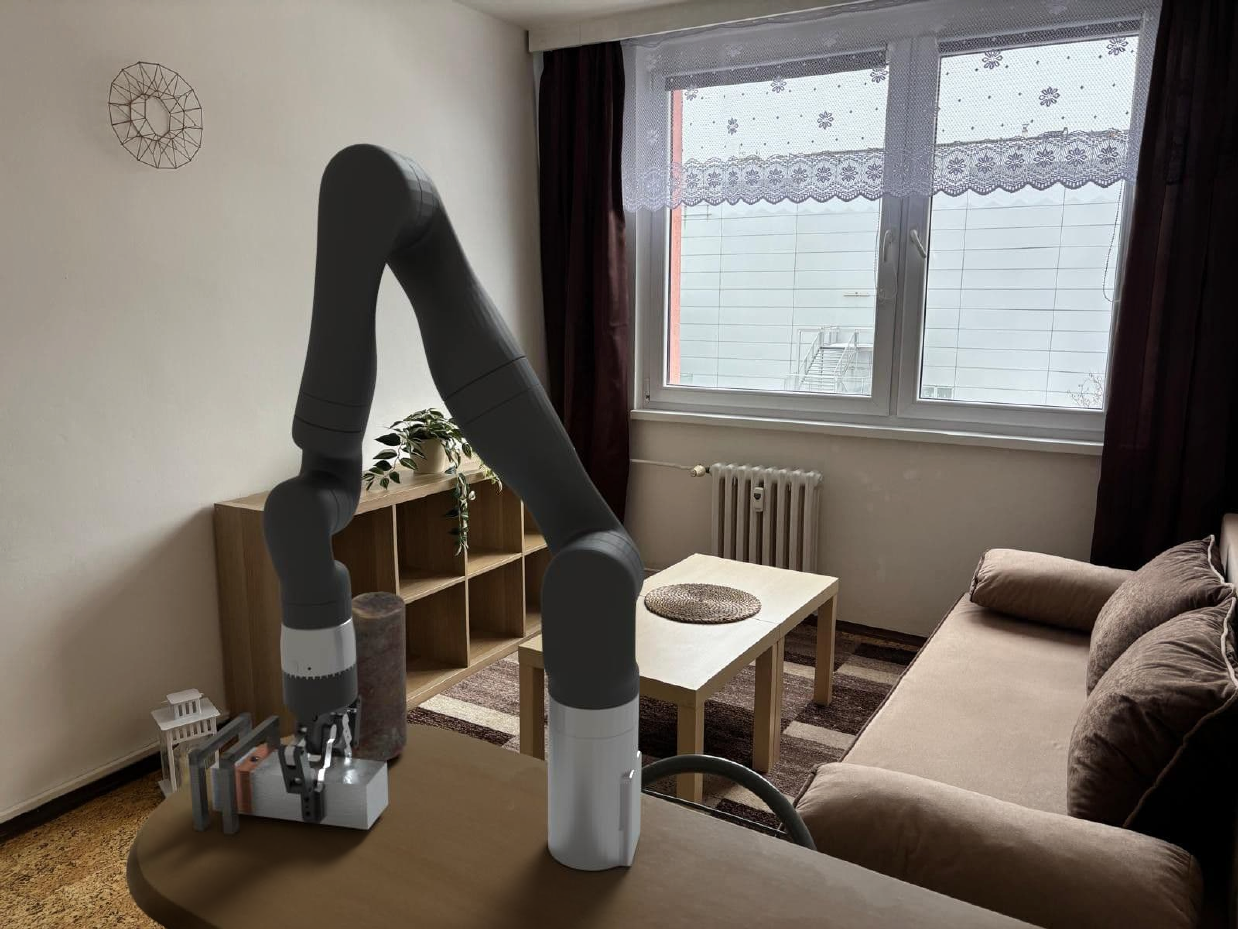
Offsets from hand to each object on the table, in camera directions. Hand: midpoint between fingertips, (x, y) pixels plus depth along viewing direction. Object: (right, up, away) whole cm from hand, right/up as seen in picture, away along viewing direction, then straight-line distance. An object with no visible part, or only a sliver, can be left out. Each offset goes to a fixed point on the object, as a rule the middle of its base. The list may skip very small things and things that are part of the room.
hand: (326, 806), depth 99 cm
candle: (+2, +1, +14) cm, 14 cm away
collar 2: (-8, -1, +2) cm, 9 cm away
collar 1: (-12, -1, +2) cm, 12 cm away
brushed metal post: (-3, 0, +1) cm, 3 cm away
